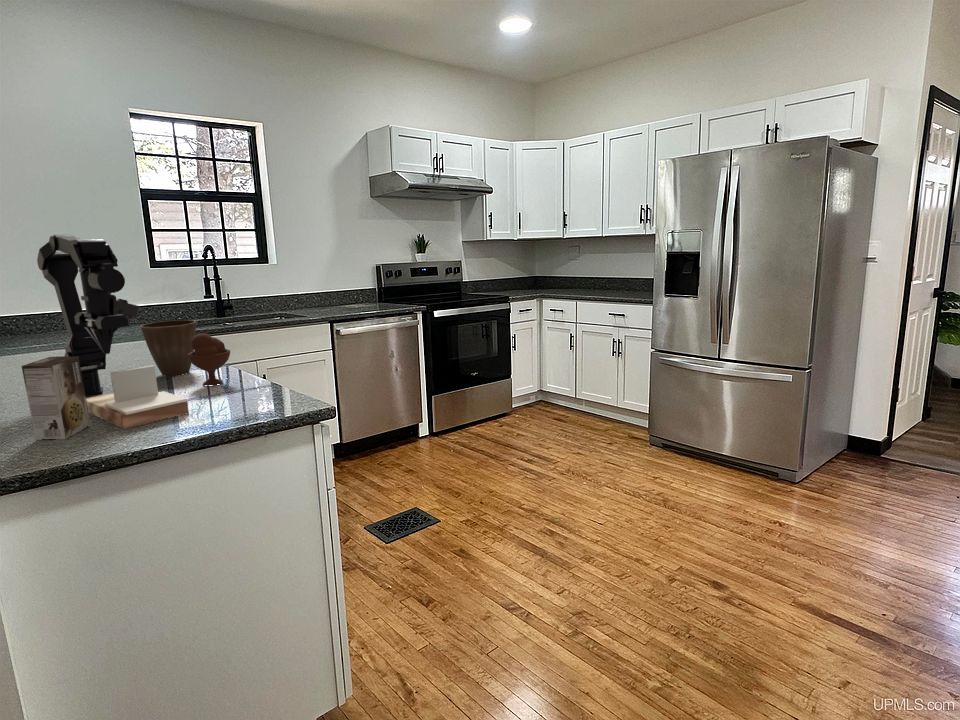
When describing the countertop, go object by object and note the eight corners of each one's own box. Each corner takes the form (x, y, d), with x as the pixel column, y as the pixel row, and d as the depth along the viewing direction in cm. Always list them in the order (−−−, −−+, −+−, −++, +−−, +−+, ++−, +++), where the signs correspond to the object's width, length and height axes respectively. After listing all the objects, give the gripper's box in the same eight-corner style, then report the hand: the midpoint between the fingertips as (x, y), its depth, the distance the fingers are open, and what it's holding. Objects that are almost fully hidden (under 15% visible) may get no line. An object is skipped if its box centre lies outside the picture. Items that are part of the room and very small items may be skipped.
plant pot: (159, 382, 167) (151, 328, 163) (140, 375, 176) (132, 324, 173) (210, 372, 178) (204, 322, 174) (189, 366, 187) (183, 318, 184)
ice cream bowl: (218, 389, 156) (211, 336, 153) (182, 388, 159) (175, 335, 156) (241, 380, 167) (235, 330, 163) (207, 379, 169) (201, 329, 166)
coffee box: (61, 426, 127) (49, 356, 123) (92, 425, 127) (80, 355, 124) (33, 440, 118) (19, 365, 114) (66, 439, 118) (53, 364, 115)
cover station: (84, 410, 139) (82, 399, 138) (145, 397, 149) (144, 386, 149) (124, 429, 124) (122, 416, 123) (188, 413, 135) (187, 401, 134)
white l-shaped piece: (105, 405, 130) (100, 373, 129) (164, 393, 140) (159, 363, 139) (126, 414, 123) (121, 381, 122) (186, 401, 133) (182, 369, 132)
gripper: (148, 290, 139) (157, 352, 142) (118, 287, 151) (127, 345, 154) (97, 293, 131) (107, 360, 134) (69, 290, 142) (79, 351, 145)
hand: (106, 353), depth 142 cm, fingers closed
